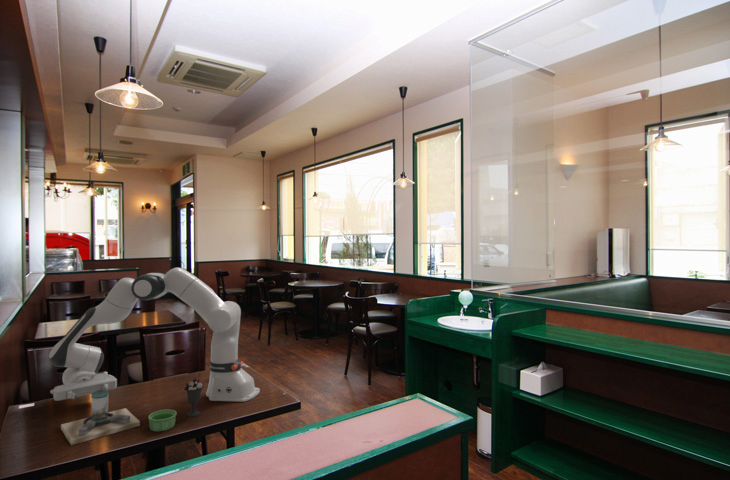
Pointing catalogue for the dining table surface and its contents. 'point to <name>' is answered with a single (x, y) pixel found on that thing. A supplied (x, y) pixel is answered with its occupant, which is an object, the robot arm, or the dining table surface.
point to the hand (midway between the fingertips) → (90, 393)
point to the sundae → (194, 395)
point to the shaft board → (99, 426)
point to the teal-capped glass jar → (99, 406)
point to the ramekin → (162, 420)
